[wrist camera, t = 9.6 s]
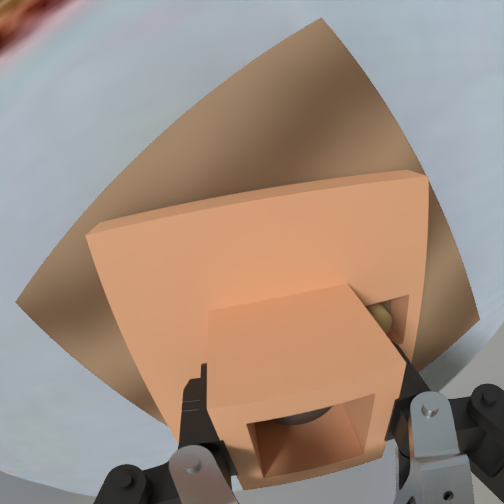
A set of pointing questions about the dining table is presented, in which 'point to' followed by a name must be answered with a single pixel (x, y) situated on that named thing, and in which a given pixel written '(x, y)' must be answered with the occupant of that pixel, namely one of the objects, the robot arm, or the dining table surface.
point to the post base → (249, 179)
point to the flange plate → (275, 313)
